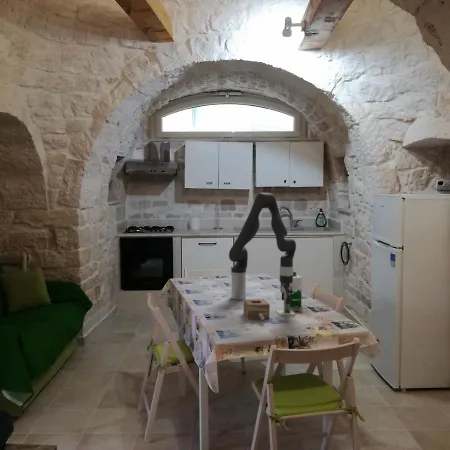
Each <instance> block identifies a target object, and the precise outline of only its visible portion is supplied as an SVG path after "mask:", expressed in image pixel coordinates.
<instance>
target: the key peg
mask: <svg viewBox="0 0 450 450" xmlns="http://www.w3.org/2000/svg"><path fill="white" fill-rule="evenodd" d="M283 292H284V289H283ZM288 295H289V294H288ZM283 310H284V312H285V313H290V310H291V307H290V304H286V294H285V293H284V300H283Z"/></svg>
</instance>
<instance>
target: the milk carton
mask: <svg viewBox="0 0 450 450" xmlns="http://www.w3.org/2000/svg"><path fill="white" fill-rule="evenodd" d="M303 278H304V277H303V276H301V275H299V274H297V272H296V271H293V282H292V283H290V287H291V286H292V297H290V308H295V307H294V306H299V307H302V293H303V292H302V291H303V290H302V288H303V285H302V283H303Z"/></svg>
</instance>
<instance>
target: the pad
mask: <svg viewBox="0 0 450 450" xmlns="http://www.w3.org/2000/svg"><path fill="white" fill-rule="evenodd" d="M275 312H276V313H277V314H278V315H279V316H280V317H282V315H286V316H296V313H295V312H294V311H293V310H291V309H290V313H285V312H284V309H280V310H279V309H278V310H275Z"/></svg>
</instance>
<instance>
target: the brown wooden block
mask: <svg viewBox="0 0 450 450" xmlns="http://www.w3.org/2000/svg"><path fill="white" fill-rule="evenodd" d="M242 313H243V315H244V316H245V318H246V319H247V320H261V321H264V320H265V319H266V320H269V319H270V303H269V302H268V301H267V300H266V299H265V298H253V299H250V298H249V299H243V312H242Z"/></svg>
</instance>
